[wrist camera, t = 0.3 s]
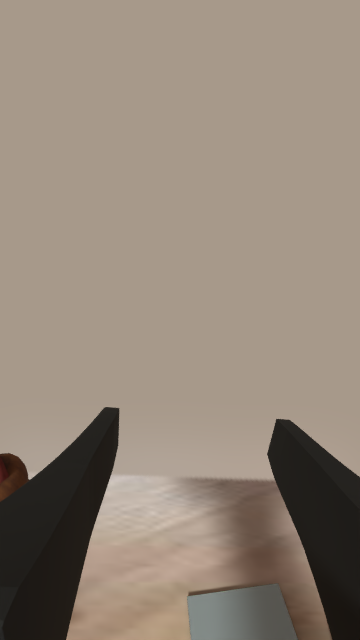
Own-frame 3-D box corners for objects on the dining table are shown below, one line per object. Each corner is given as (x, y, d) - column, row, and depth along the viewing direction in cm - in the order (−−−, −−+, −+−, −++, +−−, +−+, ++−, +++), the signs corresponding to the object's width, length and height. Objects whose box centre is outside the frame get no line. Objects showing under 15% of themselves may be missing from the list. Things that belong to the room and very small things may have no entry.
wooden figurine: (63, 559, 24) (28, 436, 19) (-10, 619, 20) (-75, 485, 16) (43, 507, 29) (11, 398, 24) (-19, 547, 25) (-71, 428, 20)
